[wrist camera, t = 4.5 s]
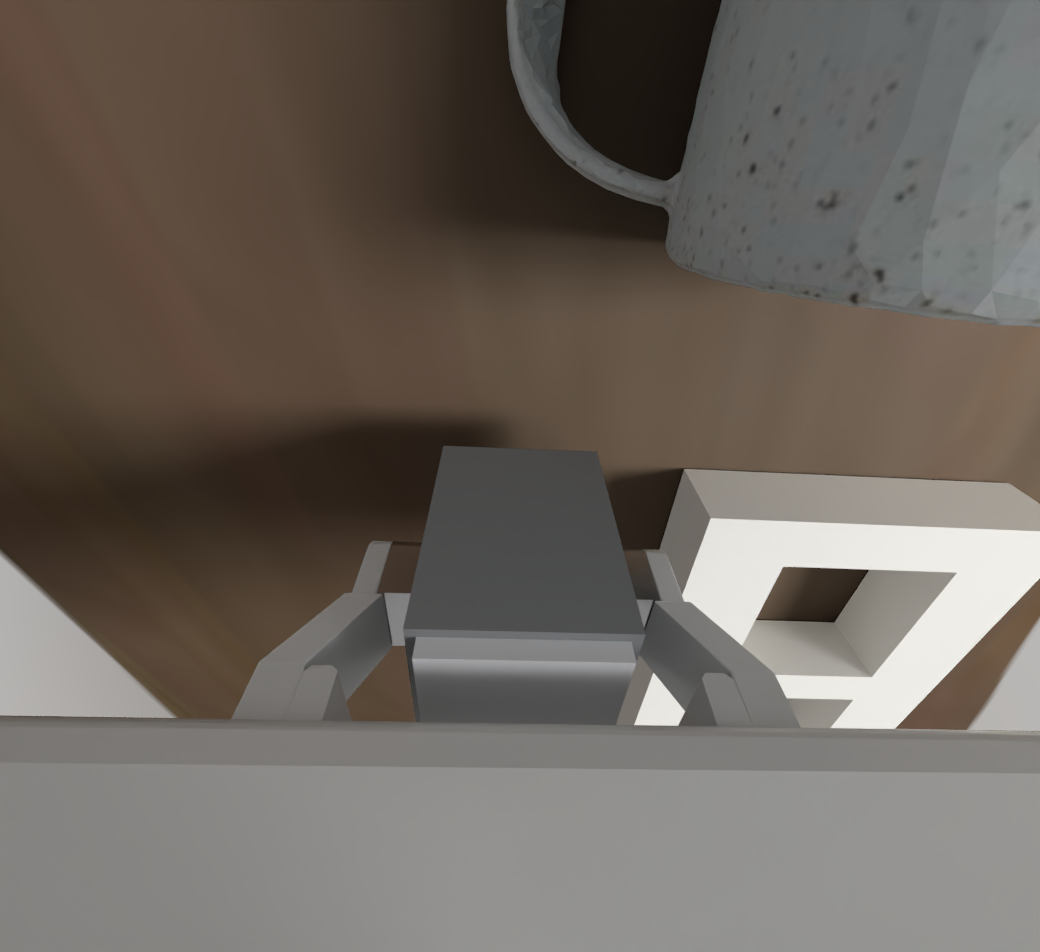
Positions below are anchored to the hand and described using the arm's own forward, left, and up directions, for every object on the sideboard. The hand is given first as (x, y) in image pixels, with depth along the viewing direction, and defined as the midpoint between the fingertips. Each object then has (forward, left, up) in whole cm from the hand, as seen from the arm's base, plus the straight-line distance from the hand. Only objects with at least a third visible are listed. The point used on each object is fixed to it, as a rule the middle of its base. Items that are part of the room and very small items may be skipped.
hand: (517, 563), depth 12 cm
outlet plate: (+8, +11, -4) cm, 14 cm away
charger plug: (0, 0, -2) cm, 2 cm away
